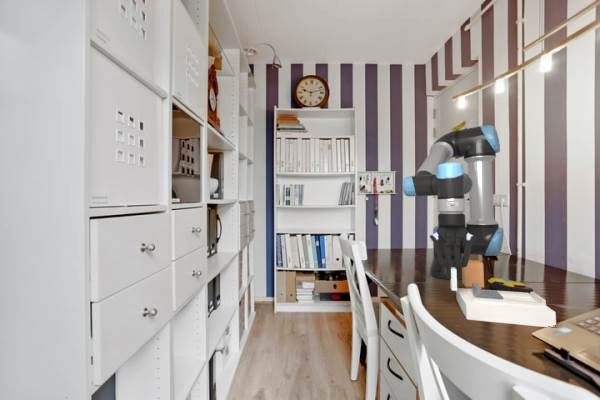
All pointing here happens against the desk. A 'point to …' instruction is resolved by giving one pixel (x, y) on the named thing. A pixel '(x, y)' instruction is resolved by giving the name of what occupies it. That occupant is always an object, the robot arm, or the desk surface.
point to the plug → (473, 274)
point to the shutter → (484, 292)
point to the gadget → (507, 285)
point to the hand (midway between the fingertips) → (453, 289)
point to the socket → (507, 308)
